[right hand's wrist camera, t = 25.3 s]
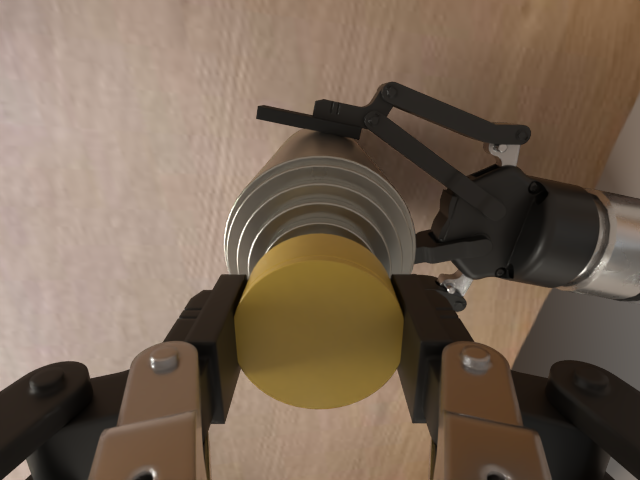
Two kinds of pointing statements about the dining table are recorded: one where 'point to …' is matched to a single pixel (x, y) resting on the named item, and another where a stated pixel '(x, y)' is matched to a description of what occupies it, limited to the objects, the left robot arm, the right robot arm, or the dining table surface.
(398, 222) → the bottle
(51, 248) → the dining table surface
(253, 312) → the cap
